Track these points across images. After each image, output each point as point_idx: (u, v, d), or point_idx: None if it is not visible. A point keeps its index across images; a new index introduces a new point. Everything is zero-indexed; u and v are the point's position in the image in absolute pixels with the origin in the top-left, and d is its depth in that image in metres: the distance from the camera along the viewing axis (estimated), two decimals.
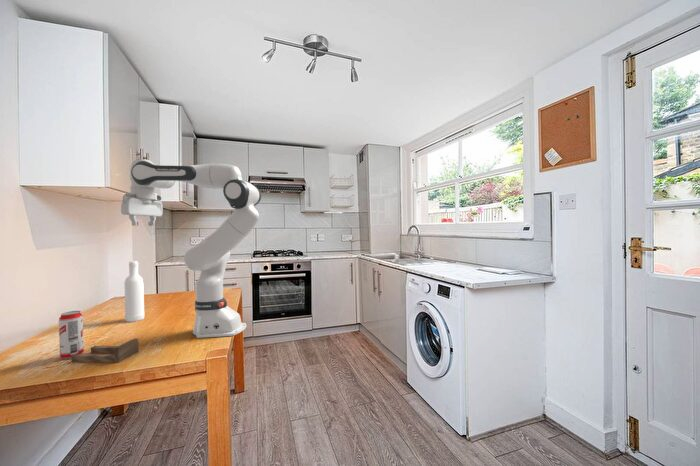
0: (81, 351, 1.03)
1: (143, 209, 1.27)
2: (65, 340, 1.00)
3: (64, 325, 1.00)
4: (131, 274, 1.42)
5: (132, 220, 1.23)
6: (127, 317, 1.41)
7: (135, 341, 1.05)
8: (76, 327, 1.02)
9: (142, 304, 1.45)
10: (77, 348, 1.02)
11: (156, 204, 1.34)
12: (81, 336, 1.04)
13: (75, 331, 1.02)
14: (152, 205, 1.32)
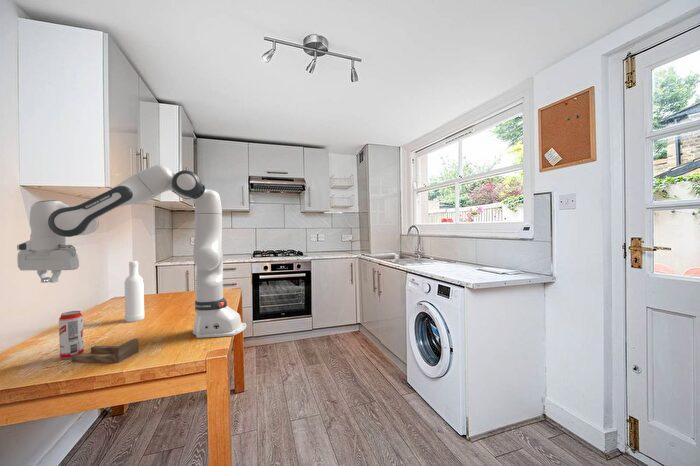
0: (81, 351, 1.03)
1: None
2: (65, 340, 1.00)
3: (64, 325, 1.00)
4: (131, 274, 1.42)
5: (55, 276, 1.03)
6: (127, 317, 1.41)
7: (135, 341, 1.05)
8: (76, 327, 1.02)
9: (142, 304, 1.45)
10: (77, 348, 1.02)
11: None
12: (81, 336, 1.04)
13: (75, 331, 1.02)
14: None
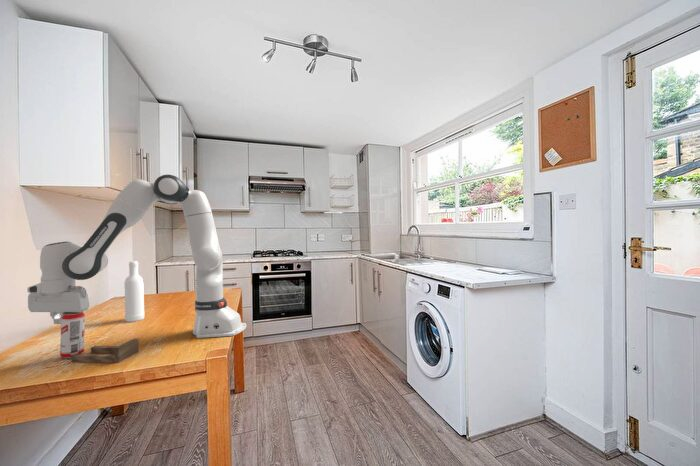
0: (81, 351, 1.03)
1: None
2: (66, 339, 1.00)
3: (66, 325, 1.00)
4: (131, 274, 1.42)
5: None
6: (127, 317, 1.41)
7: (135, 341, 1.05)
8: (78, 327, 1.02)
9: (142, 304, 1.45)
10: (78, 348, 1.02)
11: None
12: (82, 336, 1.04)
13: (77, 331, 1.02)
14: None
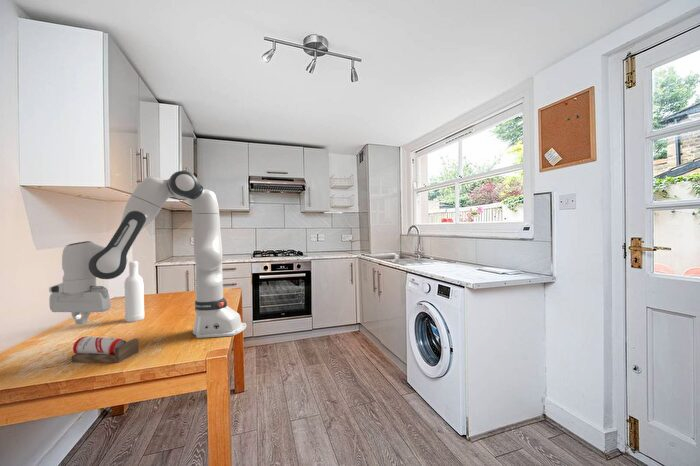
0: None
1: None
2: (89, 351, 0.99)
3: (103, 351, 0.99)
4: (131, 274, 1.42)
5: (85, 317, 1.02)
6: (127, 317, 1.41)
7: (135, 341, 1.05)
8: None
9: (142, 304, 1.45)
10: None
11: None
12: None
13: None
14: None
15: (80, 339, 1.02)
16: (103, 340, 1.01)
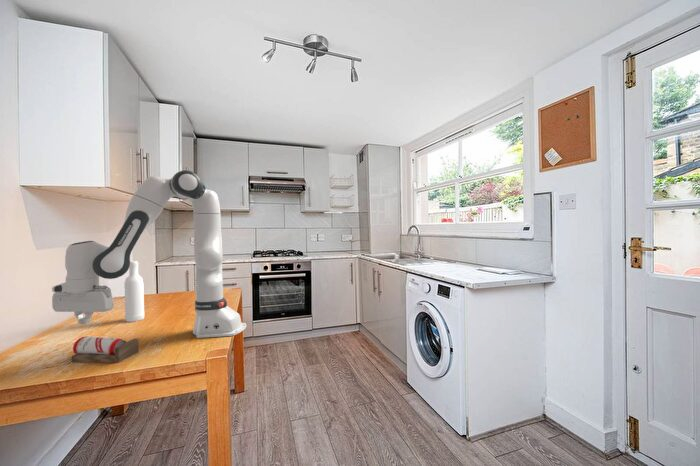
0: None
1: None
2: (89, 351, 0.99)
3: (103, 351, 0.99)
4: (131, 274, 1.42)
5: (88, 317, 1.02)
6: (127, 317, 1.41)
7: (135, 341, 1.05)
8: None
9: (142, 304, 1.45)
10: None
11: None
12: None
13: None
14: None
15: (80, 339, 1.02)
16: (103, 340, 1.01)
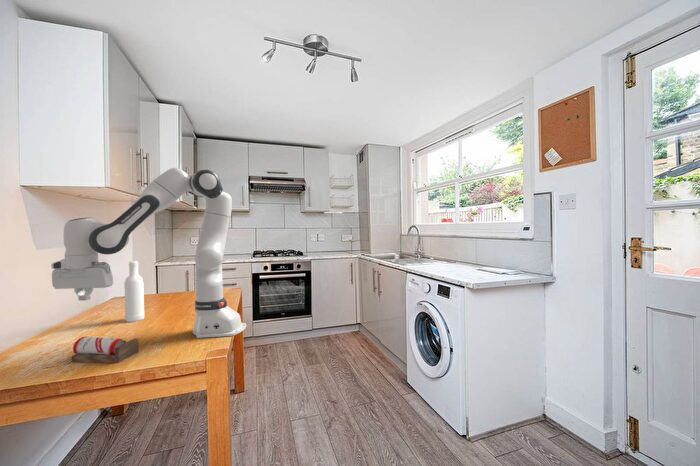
0: None
1: None
2: (89, 351, 0.99)
3: (103, 351, 0.99)
4: (131, 274, 1.42)
5: (88, 294, 1.02)
6: (127, 317, 1.41)
7: (135, 341, 1.05)
8: None
9: (142, 304, 1.45)
10: None
11: None
12: None
13: None
14: None
15: (80, 339, 1.02)
16: (103, 340, 1.01)
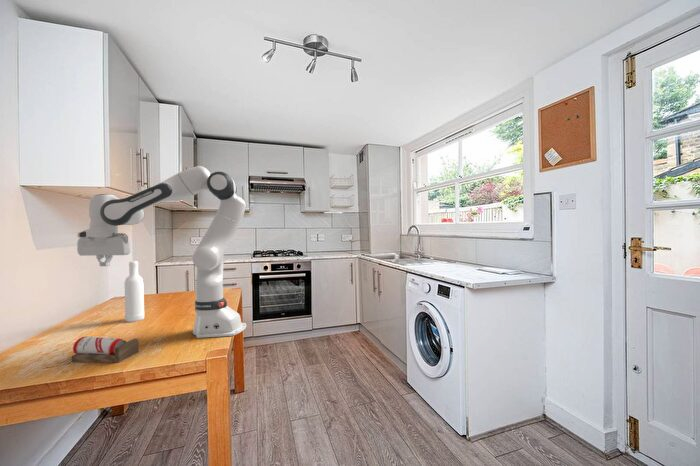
0: None
1: None
2: (89, 351, 0.99)
3: (103, 351, 0.99)
4: (131, 274, 1.42)
5: (108, 260, 1.17)
6: (127, 317, 1.41)
7: (135, 341, 1.05)
8: None
9: (142, 304, 1.45)
10: None
11: None
12: None
13: None
14: None
15: (80, 339, 1.02)
16: (103, 340, 1.01)
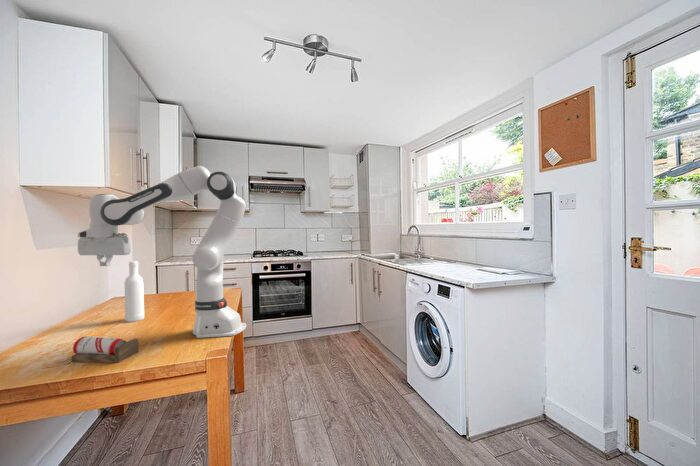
0: None
1: None
2: (89, 351, 0.99)
3: (103, 351, 0.99)
4: (131, 274, 1.42)
5: (108, 260, 1.17)
6: (127, 317, 1.41)
7: (135, 341, 1.05)
8: None
9: (142, 304, 1.45)
10: None
11: None
12: None
13: None
14: None
15: (80, 339, 1.02)
16: (103, 340, 1.01)
